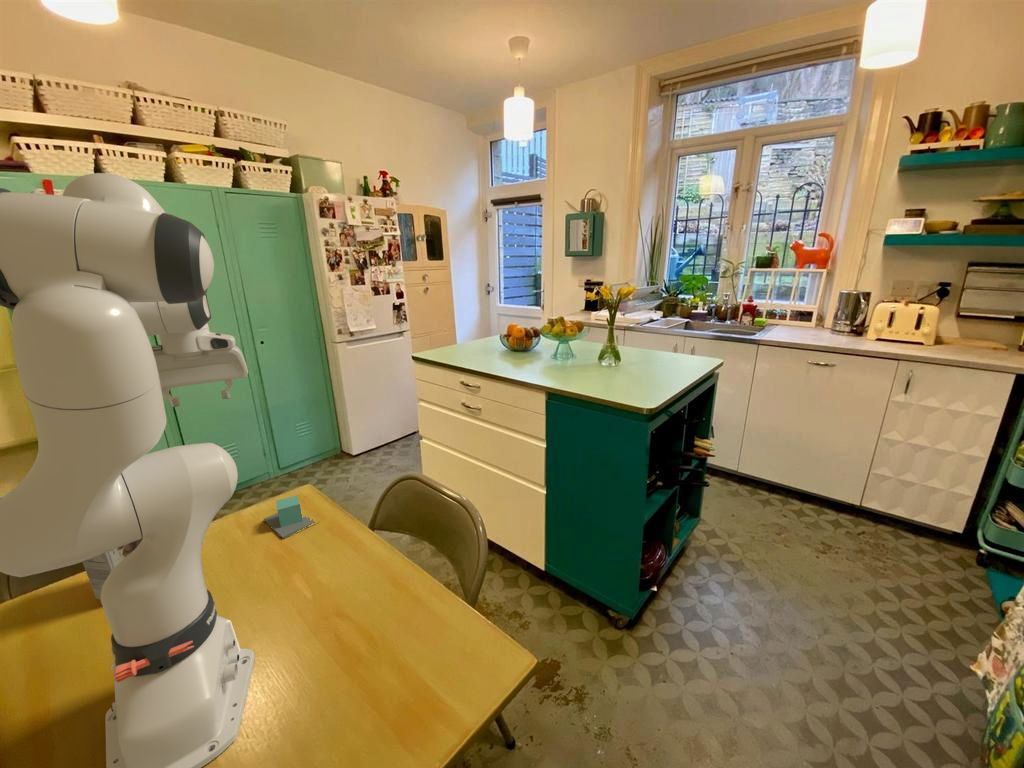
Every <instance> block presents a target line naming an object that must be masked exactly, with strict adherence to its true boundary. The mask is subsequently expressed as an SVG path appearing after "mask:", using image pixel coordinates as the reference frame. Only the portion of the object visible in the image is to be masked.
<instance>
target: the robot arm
mask: <svg viewBox="0 0 1024 768" xmlns="http://www.w3.org/2000/svg"><path fill="white" fill-rule="evenodd" d="M213 255H214V254H213V253H212V250H211V247H210V245H209V243H208V241H207V240H206V237H205V234H204V233H203V232H202V230H200V229H199V228H198V227H197V226H196V225H195V224H194V223H192V222H191V221H188V220H186V219H183V218H182V217H177V216H175V215H173V214H171V213H170V214H169V213H166V211H165V209H164V208H163V207H162V206H161V204H159V202H158V201H157V200H156V199H155V197H154V196H153V195H151V194H150V192H149V191H148V190H146V189H145V188H144V187H143V186H142V185H140V184H139V183H137V182H136V181H133V180H131V179H129V178H126V177H124V176H121V175H117V174H113V173H105V172H96V173H95V172H94V173H88V174H85V175H81V176H79V177H77V178H75V179H74V180H72V181H70V183H68V185H67V186H66V187H65V188H64V190H63V192H62V194H61V195H58V194H47V193H36V192H35V193H33V192H17V191H15V192H12V191H11V190H9V189H6V188H2V187H0V306H1V307H2V308H6V309H10V310H12V316H11V335H12V346H13V347H12V349H13V353H14V360H15V361H14V362H15V366H16V369H17V374H18V378H19V381H20V383H21V387H22V389H23V392H24V395H25V399H26V401H27V404H28V407H29V411H30V412H31V415H32V417H31V418H32V420H33V423H34V427H35V431H36V432H35V433H36V436H37V445H38V448H37V449H38V450H37V455H36V458H35V461H34V463H33V465H32V467H31V468H30V470H29V471H28V472H27V474H26V475H25V477H24V478H23V479H22V480H20V482H19V483H17V485H16V486H14V488H12V489H11V490H10V491H9V492H8V493H6V494H5V495H4V496H2V497H1V498H0V573H2V574H5V575H7V576H13V577H17V578H23V577H28V576H33V575H37V574H41V573H45V572H51V571H53V570H54V571H55V570H58V569H61V568H65V567H69V566H73V565H76V564H80V563H83V562H82V561H85V560H88V559H90V558H93V557H95V556H98V555H100V554H103V553H106V552H108V551H111V550H113V549H116V548H119V547H121V546H124V545H126V544H129V543H131V542H134V541H137V540H139V539H141V538H142V541H141V542H140V544H139V545H138V546H137V548H136V549H135V550H134V551H133V552H132V553H131V554H129V555H128V556H127V557H126V558H125V559H123V560H122V561H121V562H120V563H119V564H118V565H117V566H116V567H115V568H114V569H113V570H112V572H111V573H110V574H109V576H108V577H107V579H106V581H105V582H104V585H103V587H102V590H101V595H100V599H101V600H100V603H101V605H102V608H103V610H104V614H105V616H106V620H107V622H108V625H109V627H110V631H111V636H110V640H111V641H110V642H111V652H112V657H113V660H114V661H113V663H112V664H111V665H110V669H111V672H112V674H113V685H114V700H115V701H114V702H112V703H111V706H110V708H108V710H107V711H106V714H105V719H104V720H105V721H104V722H105V761H106V763H105V764H106V765H105V766H106V767H105V768H203V767H205V765H207V764H209V763H210V762H212V761H213V760H215V759H216V758H217V757H218V756H219V755H220V754H222V753H223V752H224V751H225V750H227V748H229V746H231V744H233V742H235V740H236V739H237V737H238V735H239V732H240V731H239V730H240V727H241V724H242V717H243V713H244V710H245V709H244V708H245V706H246V705H245V704H246V700H247V696H248V690H249V686H250V682H251V681H250V680H251V678H252V677H251V676H252V673H253V668H254V664H255V659H256V655H255V652H254V650H253V649H250V648H241V646H240V644H239V640H238V638H237V635H236V632H235V629H234V626H233V623H232V621H231V620H230V619H228V618H225V617H223V616H220V615H218V611H217V607H216V602H215V599H214V597H213V596H212V593H211V591H210V590H208V589H207V585H206V581H205V576H204V571H203V565H202V547H203V543H204V539H205V537H206V534H207V531H208V529H209V527H210V525H211V523H212V522H213V520H214V518H216V515H217V514H218V513H219V511H220V510H221V509H222V508H223V507H224V506H225V504H226V503H227V502H228V501H229V500H230V499H231V498H232V496H233V494H234V493H235V490H236V488H237V485H238V480H239V479H238V477H239V474H238V472H239V471H238V467H237V464H236V462H235V460H234V458H233V457H232V455H230V453H229V452H228V451H227V450H225V448H223V447H222V446H219V445H218V444H215V443H213V442H200V443H191V444H184V445H177V446H172V447H167V448H164V449H160V450H156V451H152V452H150V451H151V450H153V448H154V447H156V445H157V444H158V443H159V441H160V440H161V438H162V436H163V434H164V432H165V430H166V426H167V424H168V423H167V421H168V420H167V413H166V408H165V402H164V398H165V399H166V400H167V401H169V405H170V407H171V408H178V407H181V403H180V398H179V396H177V397H174V396H173V395H172V394H170V391H171V388H179V387H185V386H192V385H193V386H194V385H201V384H206V383H207V384H208V383H215V382H222V381H224V384H225V386H226V387H225V390H221V391H220V394H221V395H220V396H221V399H222V400H229V399H230V398H231V395H230V390H231V388H232V385H233V380H237V379H243V378H247V376H248V375H249V369H248V365H247V363H246V360H245V357H244V354H243V352H242V350H241V349H240V348H239V347H238V346H237V345H236V338H235V337H234V336H233V335H231V334H227V333H226V334H224V333H221V332H220V333H219V332H212V331H210V326H209V324H208V322H209V321H210V320H211V319H212V314H211V309H210V305H209V302H208V295H207V292H208V288H209V286H210V284H211V283H212V280H213V277H214V270H215V262H214V261H215V260H214V256H213ZM150 336H158V337H159V340H160V341H159V342H160V344H157V345H151V341H150V338H149V337H150Z"/></svg>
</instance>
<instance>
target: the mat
mask: <svg viewBox="0 0 1024 768" xmlns="http://www.w3.org/2000/svg"><path fill="white" fill-rule="evenodd" d="M302 519H303V521H301V522H298V523H294V524H291V525H288V526H284V527H281V525H280V520H279V516H278V512H275V513H273V514H272V515H269V516H267V517H264V518H263V521H264V520H265V521H266V522H267V523H268V524H269V525H270V526H271V527H272V528H271V527H270V526H269V525H268V524H267V523H266V522H265V521H264V522H265V523H266V524H267V525H268V526H269V527H270V528H271V529H272V531H274V532H275V531H276V532H277V533H278V534H279V535H280V536H281V537H282V538H285V539H287V538H289V537H291V536H293V535H292V534H294V533H296V532H297V531H299V530H302V529H303V528H305V527H308V526H309V525H311V524H312V523H315V522H314V521H313V519H312V520H311V521H310V518H309V517H308V518H306V516H305V517H303V518H302ZM308 528H309V527H308ZM302 531H303V530H302ZM276 532H275V533H276ZM277 533H276V534H277ZM278 534H277V535H278ZM296 534H297V533H296ZM279 535H278V536H279ZM290 535H291V536H290ZM294 535H295V534H294ZM280 536H279V537H280ZM288 536H289V537H288ZM281 537H280V538H281ZM286 537H287V538H286ZM282 538H281V539H282Z"/></svg>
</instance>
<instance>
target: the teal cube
mask: <svg viewBox="0 0 1024 768" xmlns="http://www.w3.org/2000/svg"><path fill="white" fill-rule="evenodd" d="M275 502H276V503H275V504H276V511H277V513H278V516H279V520H280V525H281V527H284V526H288V525H291V524H294V523H298V522H301V521H303V519H302V514H301V508H300V505H301V503H300V500H299V496H298V494H297V495H292V496H290V497H285V498H282V499H278V500H275Z"/></svg>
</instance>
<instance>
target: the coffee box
mask: <svg viewBox="0 0 1024 768" xmlns="http://www.w3.org/2000/svg"><path fill="white" fill-rule="evenodd" d="M141 541H142V538H141V539H139V540H137V541H134V542H131V543H129V544H126V545H124V546H121V547H119V548H116V549H113V550H111V551H108V552H106V553H103V554H100V555H98V556H95V557H93V558H90V559H88V560H85V561H82V562H81V563H82V566H83V567H84V569H85V572H86V575H87V577H88V581H89V583H90V586H91V588H92V591H93V595H94V597H95V599H96V600H100V601H101V599H100V595H101V590H102V587H103V585H104V582H105V581H106V579H107V577H108V576H109V574H110V573H111V572H112V570H113V569H114V568H115V567H116V566H117V565H118V564H119V563H120V562H121V561H122V560H123V559H125V558H126V557H127V556H128V555H129V554H131V553H132V552H133V551H134V550H135V549H136V548H137V546H138V545H139V544H140V542H141Z"/></svg>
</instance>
